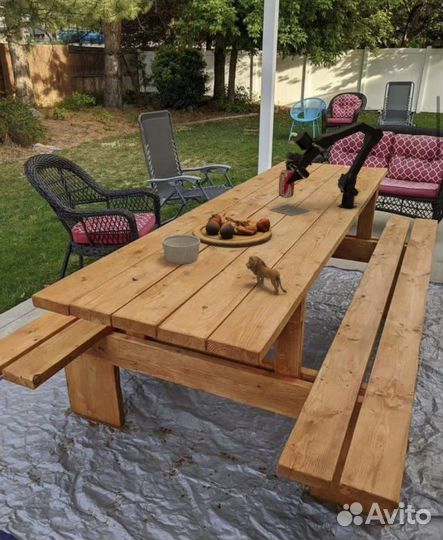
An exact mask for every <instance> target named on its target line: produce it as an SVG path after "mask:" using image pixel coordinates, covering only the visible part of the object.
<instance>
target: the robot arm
mask: <svg viewBox="0 0 443 540" xmlns="http://www.w3.org/2000/svg"><path fill="white" fill-rule="evenodd" d="M359 132H360V133H361V134H363V135H364V136H363V140H362V141H363V143H362V145H361V147H360V149H359V150H358V152H357V155H356V156H355V158H354V160H353V162H352V164H351V165H350V167H349V169H348V170H347V172H345V173H342V172H341V174H340V177H338V179H337V181H338V182H337V187H338V189H339V190H340V193H342V196H341V204H338V207H340V208H343V209H344V208H345V209H348V210H350V209H355V208H357V205H355V198H356V197H358V195H359V193H360V192H359V190H358V189H357V188H356V185H357V180H358V175H359V174H360V171H361V170H362V168H363V166H364V164H365V162H366V161H367V159H368V157H369V155H370V153H371V152H372V150H373V149H374V148H375V147H376V146H377V145H378V144H380V142H381V140H382V139H383V137H384V134H385V133H384V131H383V129H382V128H380V127H375V126H371V125H369V124H366V123H365V122H363V121H359V120H358V121H356V122H355V123H351V124H350V125H347V126H345V127H343V128H340V129H337V130H335V131H333V132H327V133H321V134H318V135H317V136H316V137H311V135H309V133H308V132H307V131H306V130H303V132H301V133H299V134H297V135H296V136H295V137H294V139H293V142H294V144H296V146H297V147H298V148H299V149H300V150H301V151H304V152H303V153H298V152H296V151H295V152H292V151H290V150H288V151H287V153H286V155H285V158H286V161H285V162H284V164H285V170H292V171H293V174H292V175H291V177H290V178H289V179H288V181H287V182H286V184H287V185H288V184H291V183H293V182H294V183H295V182H299V181H300V180H304V179H306V180H307V179H308V178H309V177H310V172H309V171H308V170H307V168H308V167H309V166H312V165H313V162H314V161H315V159H317V158H318V157H321V158H323V157H325V156H324V155H325V154H324V153H325V150H326V149H329V148H331V147H332V146H334V145H335V143H337V142H339V141H340V140H343V139H346V138H347V137H350V136H352V135H355V134H358V133H359ZM315 145H316V146H315ZM320 148H321V149H324V150H321V149H320Z"/></svg>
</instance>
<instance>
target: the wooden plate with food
mask: <svg viewBox="0 0 443 540" xmlns="http://www.w3.org/2000/svg"><path fill="white" fill-rule="evenodd" d="M192 235H193V236H196V237H198V238H199V239H200V243H202V244H205V245H208V246H215V247H222V248H225V247H226V248H243V247H249V246H256V245H260V244H262V243H265V242H267V241H269V240H270V239H271V238H272V235H273V231H272V228H271V220H270V219H269V218H266V217H264V218H260V219H259V220H258V221H255V220H254V219H252V218H243V219H241V218H240V219H236V218H231V217H229V216H226V217H225V218H224V219H222V216H221V215H220V214H218V212H216V213H212V214H211V216H210V217H209V218H208V221H207V222H203V223H200V224H199V225H197V226H196V227H194V228H193V230H192Z"/></svg>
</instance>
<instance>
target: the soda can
mask: <svg viewBox="0 0 443 540" xmlns="http://www.w3.org/2000/svg"><path fill="white" fill-rule="evenodd" d="M292 174H293V171H292V170H286V169H282V170H281V172H280V174H279V179H278V181H279V182H278V196H279V197H281V198H283V199H290V198H292V197H293V196H294V194H295V182H293V183H291V184H288V185H287V184H286V182H287V181H288V179H289V178H290V177H291V175H292Z"/></svg>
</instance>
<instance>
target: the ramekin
mask: <svg viewBox="0 0 443 540" xmlns="http://www.w3.org/2000/svg"><path fill="white" fill-rule="evenodd" d="M161 245H162V249H163V254H164V259H165V260H166V261H167V262H169V263H172V264H177V265H186V264H192V263H194V262H195V261H197V259H198V257H199V253H200V245H201V242H200V239H199V238H198V237H196V236H193V234H186V233H185V234H183V233H182V234H181V233H180V234H171V235H168V236H165V237H164V238H163V239H162V240H161Z"/></svg>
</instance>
